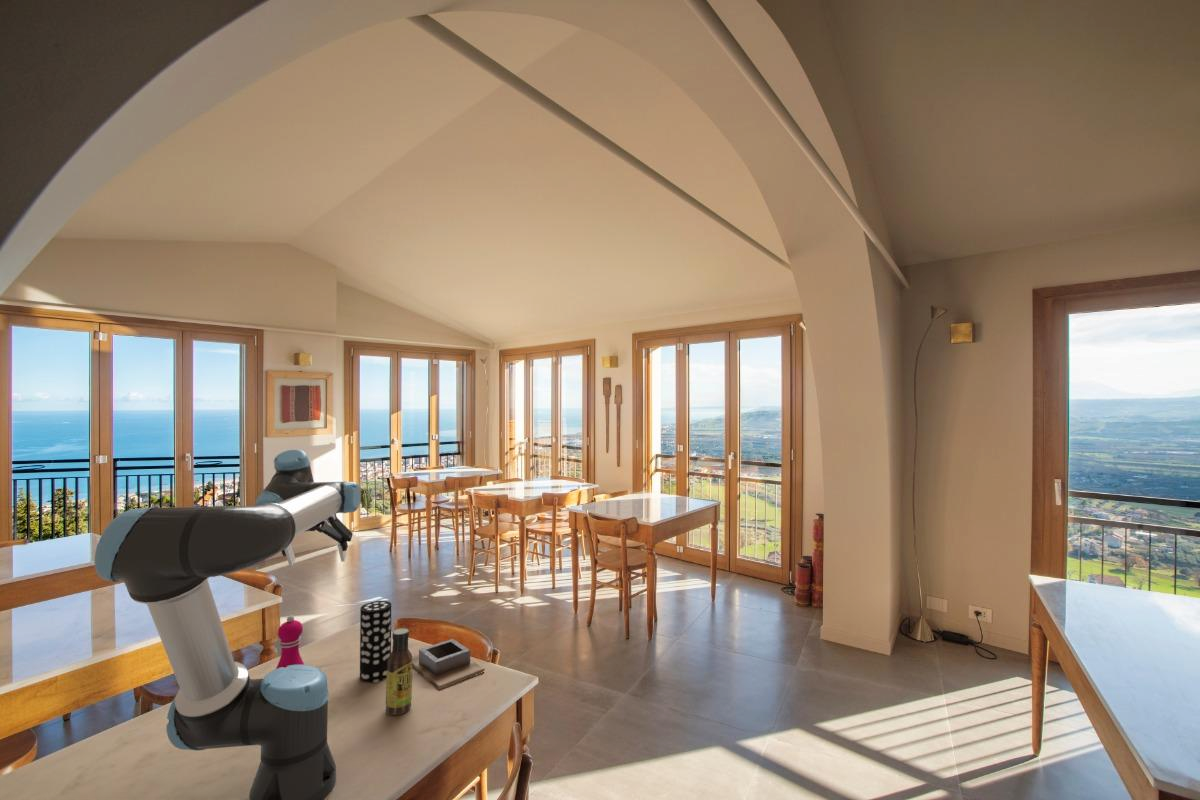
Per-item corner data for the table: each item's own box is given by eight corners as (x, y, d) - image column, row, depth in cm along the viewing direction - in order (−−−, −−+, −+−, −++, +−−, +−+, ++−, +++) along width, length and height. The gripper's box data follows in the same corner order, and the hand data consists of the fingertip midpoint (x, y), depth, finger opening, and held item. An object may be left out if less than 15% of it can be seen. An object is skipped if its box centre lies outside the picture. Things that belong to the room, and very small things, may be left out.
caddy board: (484, 672, 153) (484, 668, 153) (439, 689, 144) (439, 685, 144) (448, 647, 169) (448, 644, 169) (406, 661, 160) (406, 658, 160)
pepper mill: (290, 696, 140) (291, 621, 140) (267, 693, 142) (268, 619, 142) (310, 683, 147) (311, 611, 148) (288, 680, 149) (289, 609, 149)
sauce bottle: (399, 719, 130) (399, 638, 130) (380, 713, 132) (380, 634, 133) (417, 705, 136) (417, 628, 136) (399, 700, 138) (399, 624, 139)
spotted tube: (359, 671, 153) (360, 603, 154) (390, 666, 157) (390, 599, 157) (359, 685, 146) (360, 613, 146) (391, 678, 149) (392, 608, 150)
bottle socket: (470, 663, 156) (470, 650, 156) (435, 676, 149) (435, 662, 149) (452, 651, 164) (452, 638, 164) (418, 663, 157) (419, 649, 157)
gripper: (355, 490, 145) (367, 546, 155) (256, 496, 140) (275, 554, 150) (349, 508, 138) (362, 566, 149) (245, 515, 134) (265, 574, 144)
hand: (318, 560), depth 149 cm, fingers open, 13 cm apart
